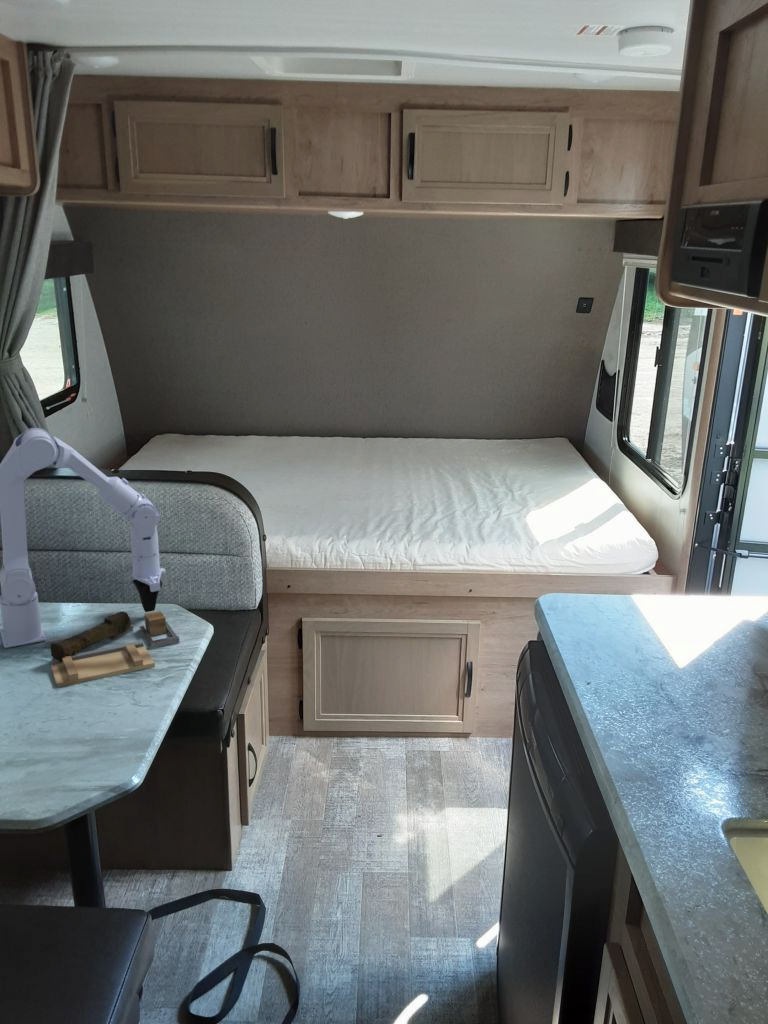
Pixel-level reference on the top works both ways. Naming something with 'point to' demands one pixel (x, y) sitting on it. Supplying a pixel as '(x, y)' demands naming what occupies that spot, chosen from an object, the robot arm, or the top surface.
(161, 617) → the key block
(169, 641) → the key guide
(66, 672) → the rack
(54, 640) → the socket channel
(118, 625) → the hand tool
